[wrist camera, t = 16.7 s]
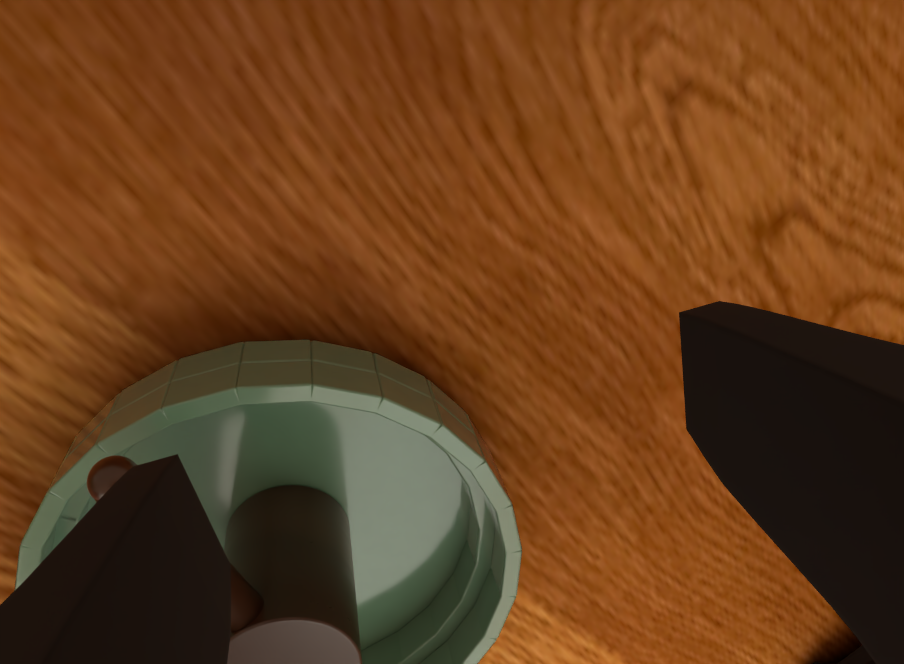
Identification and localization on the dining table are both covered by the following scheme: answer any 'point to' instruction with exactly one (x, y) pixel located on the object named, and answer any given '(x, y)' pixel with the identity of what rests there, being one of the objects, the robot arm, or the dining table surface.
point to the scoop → (281, 574)
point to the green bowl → (326, 480)
